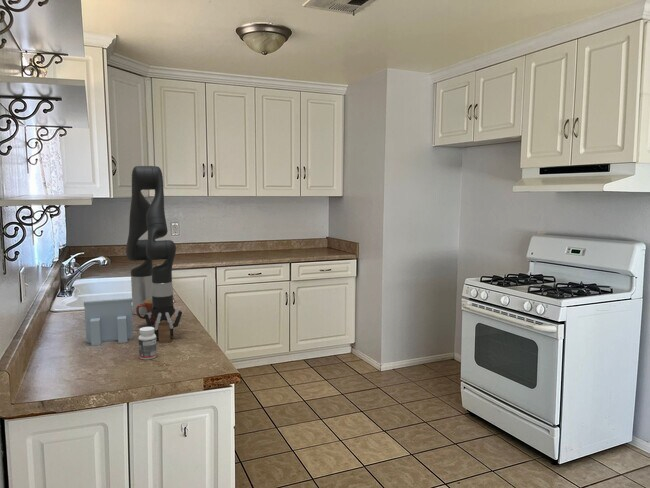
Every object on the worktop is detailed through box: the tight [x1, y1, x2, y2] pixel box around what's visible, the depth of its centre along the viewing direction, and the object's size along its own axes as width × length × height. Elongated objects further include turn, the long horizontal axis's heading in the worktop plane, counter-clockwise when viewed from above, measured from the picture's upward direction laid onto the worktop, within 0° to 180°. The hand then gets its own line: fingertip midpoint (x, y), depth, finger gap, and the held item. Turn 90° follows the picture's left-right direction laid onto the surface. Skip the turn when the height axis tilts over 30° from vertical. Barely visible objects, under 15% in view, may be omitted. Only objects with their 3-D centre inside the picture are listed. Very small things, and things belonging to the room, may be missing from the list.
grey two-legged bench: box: [83, 297, 134, 347], centre depth 183 cm, size 6×16×15 cm, turn 110°
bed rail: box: [158, 320, 171, 344], centre depth 189 cm, size 14×4×6 cm, turn 20°
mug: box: [136, 299, 156, 326], centre depth 204 cm, size 12×9×10 cm
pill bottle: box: [138, 326, 158, 361], centre depth 167 cm, size 6×6×10 cm
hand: (164, 338), depth 186 cm, fingers closed on bed rail, 4 cm apart
